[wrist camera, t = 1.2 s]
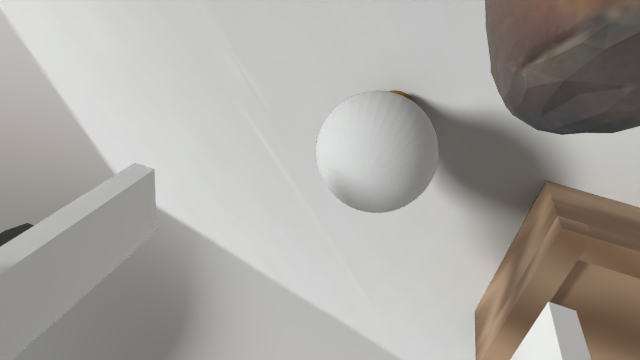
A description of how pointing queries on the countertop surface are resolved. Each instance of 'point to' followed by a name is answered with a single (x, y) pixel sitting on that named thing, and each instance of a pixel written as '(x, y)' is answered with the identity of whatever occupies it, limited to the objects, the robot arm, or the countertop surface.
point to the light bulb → (377, 151)
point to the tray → (568, 276)
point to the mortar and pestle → (567, 62)
